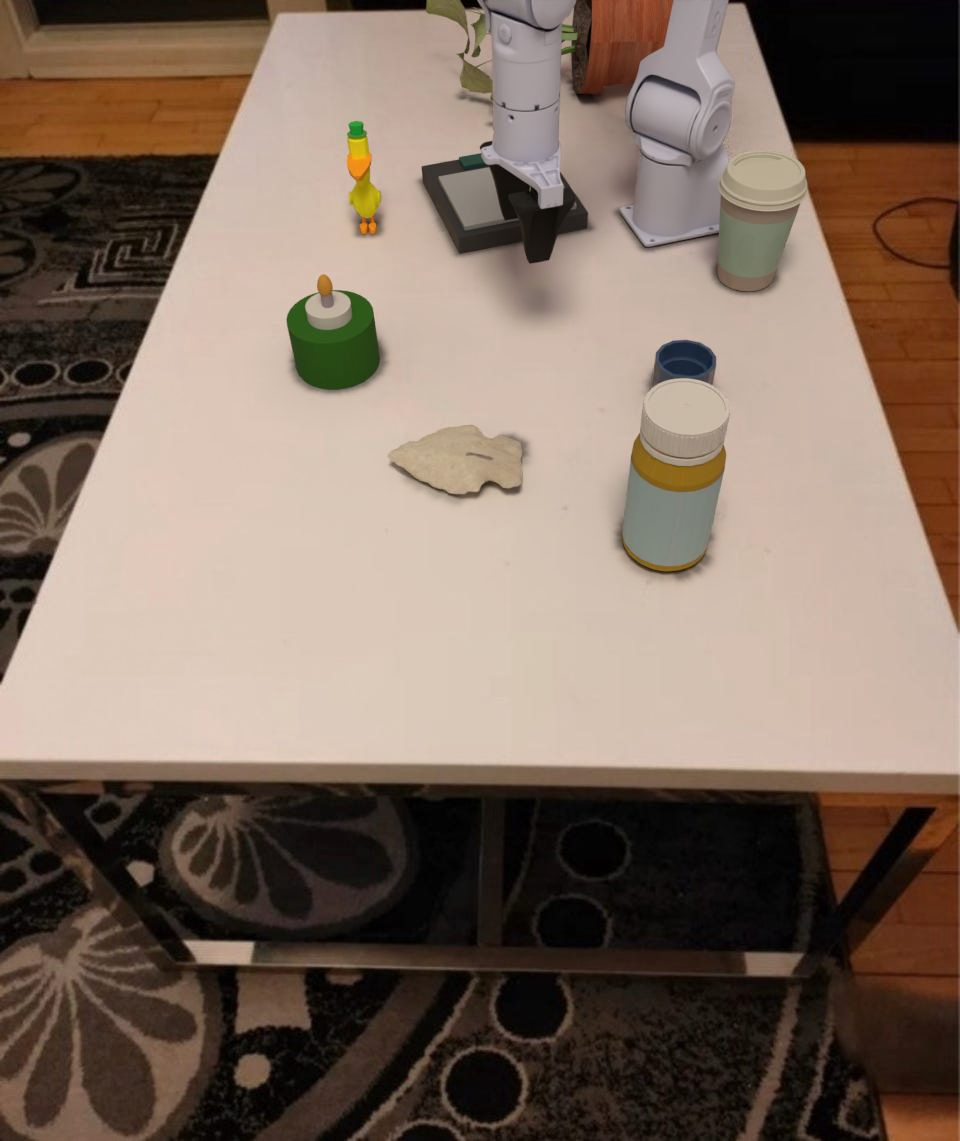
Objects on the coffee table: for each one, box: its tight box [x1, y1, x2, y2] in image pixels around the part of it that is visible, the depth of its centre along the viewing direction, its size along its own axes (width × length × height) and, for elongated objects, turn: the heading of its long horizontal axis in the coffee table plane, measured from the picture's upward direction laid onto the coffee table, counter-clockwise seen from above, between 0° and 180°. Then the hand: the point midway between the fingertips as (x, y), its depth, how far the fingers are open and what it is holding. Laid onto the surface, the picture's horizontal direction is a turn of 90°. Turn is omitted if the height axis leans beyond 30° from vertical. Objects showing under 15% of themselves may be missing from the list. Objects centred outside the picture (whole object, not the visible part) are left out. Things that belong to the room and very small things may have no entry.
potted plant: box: [425, 0, 673, 101], centre depth 129 cm, size 16×15×35 cm
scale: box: [421, 152, 589, 254], centre depth 116 cm, size 15×16×3 cm
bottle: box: [621, 378, 731, 572], centre depth 78 cm, size 7×7×15 cm
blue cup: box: [651, 339, 717, 389], centre depth 94 cm, size 6×6×4 cm
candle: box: [285, 273, 381, 390], centre depth 96 cm, size 8×8×10 cm
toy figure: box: [346, 120, 382, 235], centre depth 110 cm, size 7×4×12 cm, turn 1°
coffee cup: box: [716, 149, 808, 292], centre depth 102 cm, size 9×9×12 cm
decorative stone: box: [387, 424, 523, 495], centre depth 89 cm, size 8×12×3 cm
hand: (525, 238), depth 96 cm, fingers open, 7 cm apart
